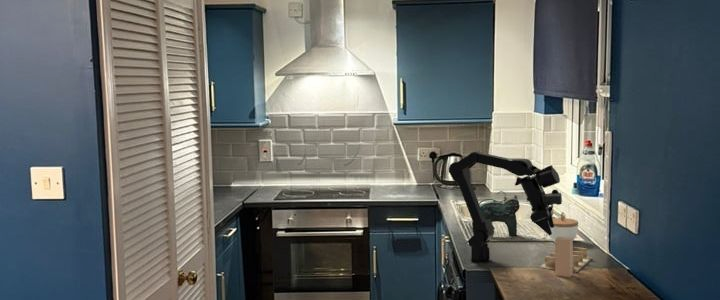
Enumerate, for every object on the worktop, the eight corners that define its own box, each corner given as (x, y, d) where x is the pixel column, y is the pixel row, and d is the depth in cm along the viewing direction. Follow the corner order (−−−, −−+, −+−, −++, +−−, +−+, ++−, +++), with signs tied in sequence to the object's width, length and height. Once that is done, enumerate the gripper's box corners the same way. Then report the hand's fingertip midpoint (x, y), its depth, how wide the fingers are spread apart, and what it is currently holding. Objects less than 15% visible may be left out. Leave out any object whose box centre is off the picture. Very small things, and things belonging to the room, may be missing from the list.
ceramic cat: (518, 234, 286) (518, 190, 284) (521, 237, 280) (521, 192, 278) (474, 234, 288) (473, 190, 286) (475, 237, 281) (475, 193, 280)
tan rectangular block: (569, 277, 218) (569, 240, 217) (555, 275, 221) (555, 238, 220) (572, 274, 221) (572, 238, 220) (558, 272, 224) (558, 236, 223)
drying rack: (540, 267, 231) (540, 256, 230) (557, 254, 248) (557, 244, 248) (576, 272, 223) (576, 261, 223) (591, 258, 241) (591, 248, 240)
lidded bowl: (581, 240, 270) (581, 215, 269) (573, 247, 259) (573, 220, 259) (552, 237, 277) (551, 212, 276) (543, 243, 266) (542, 217, 265)
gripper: (552, 189, 218) (571, 230, 218) (556, 178, 235) (574, 216, 235) (522, 201, 223) (541, 241, 223) (528, 189, 240) (546, 226, 240)
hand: (551, 231), depth 230 cm, fingers open, 9 cm apart
